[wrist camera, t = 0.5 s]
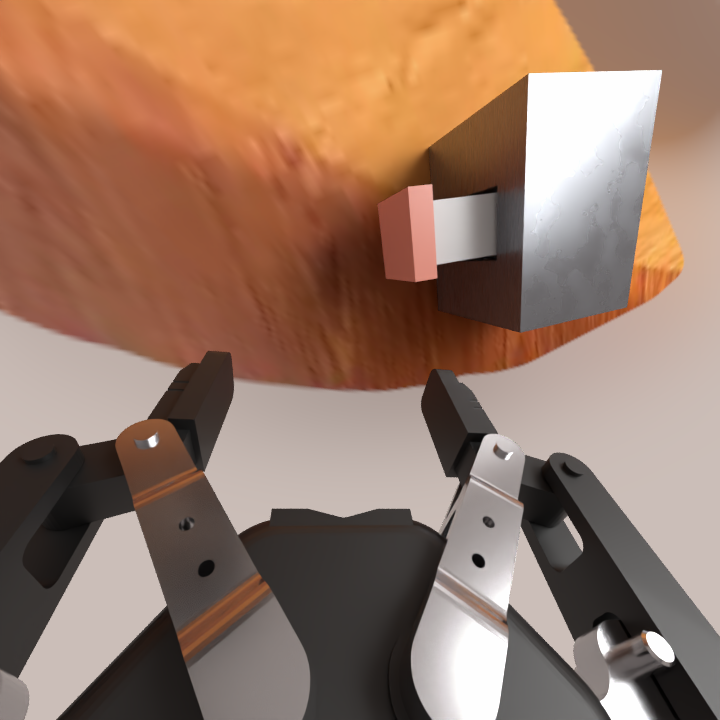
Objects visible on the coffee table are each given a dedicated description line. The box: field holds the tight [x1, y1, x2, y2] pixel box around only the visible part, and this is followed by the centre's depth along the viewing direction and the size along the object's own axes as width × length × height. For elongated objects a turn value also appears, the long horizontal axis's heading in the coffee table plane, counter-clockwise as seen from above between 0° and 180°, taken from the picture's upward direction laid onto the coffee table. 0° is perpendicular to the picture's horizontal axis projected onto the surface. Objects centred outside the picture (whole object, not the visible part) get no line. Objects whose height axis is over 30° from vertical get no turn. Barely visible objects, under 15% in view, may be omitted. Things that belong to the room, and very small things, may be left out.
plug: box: [378, 184, 497, 282], centre depth 29 cm, size 7×14×7 cm, turn 99°
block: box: [429, 70, 662, 333], centre depth 31 cm, size 18×12×14 cm, turn 9°
